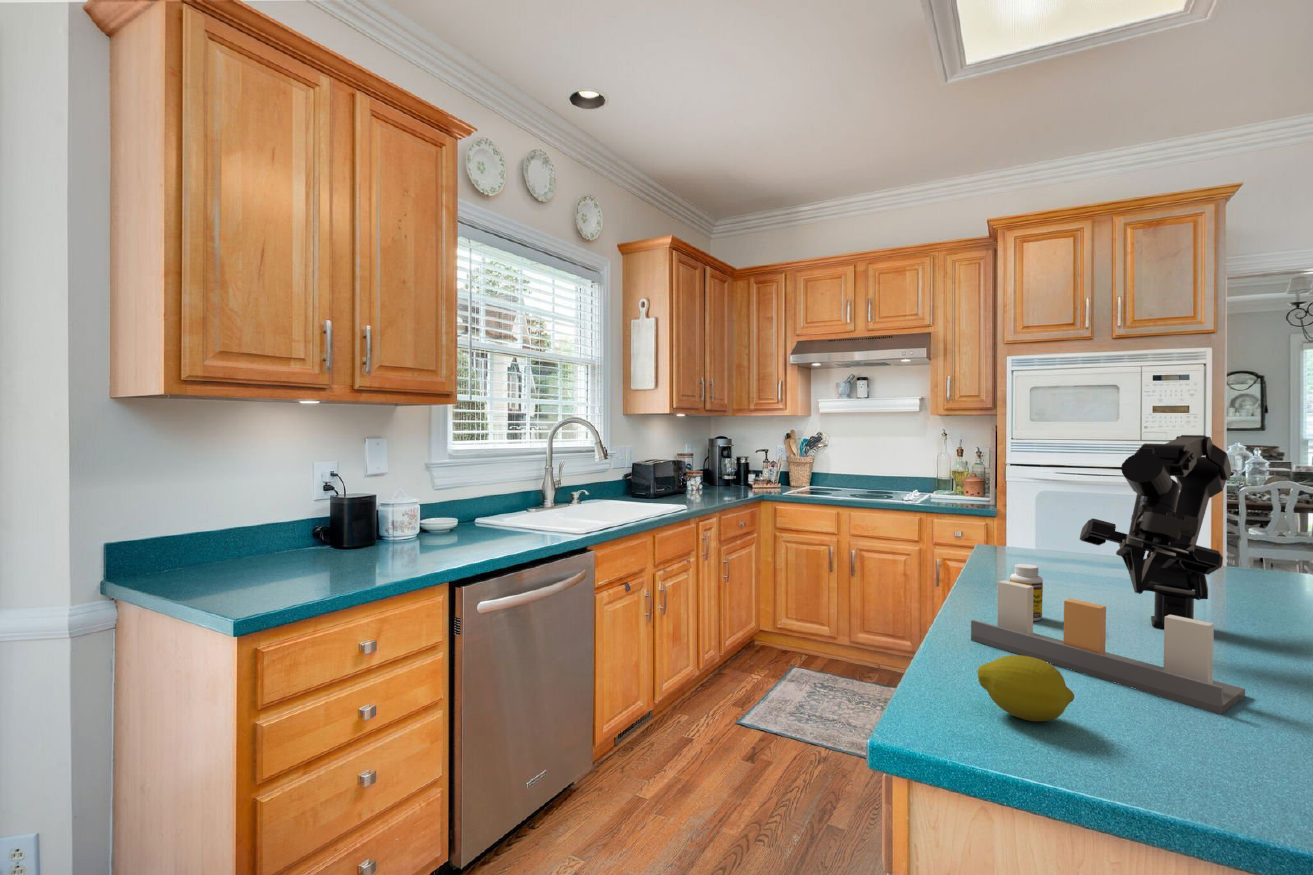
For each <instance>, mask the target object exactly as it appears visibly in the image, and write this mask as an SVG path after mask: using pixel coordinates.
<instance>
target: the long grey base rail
mask: <svg viewBox="0 0 1313 875" xmlns="http://www.w3.org/2000/svg"><path fill="white" fill-rule="evenodd" d="M970 624H971V625H970V640H971V641H973V642H975V643H979V644H982V645H987V646H990V647H993V648H995V649H999V650H1003V651H1006V652H1009V653H1013V654H1015V655H1022V656H1029V657H1034V658H1037V659H1041V660H1043V661H1045V662H1048V663H1051V665H1053V664H1056V665H1058V666H1057V667H1059V666H1061V667H1060V668H1063V667H1064V668H1063V669H1066V668H1069V669H1068V670H1070V669H1072V670H1071V671H1073V670H1075V671H1074V672H1076V671H1077V672H1078V673H1080V674H1083V673H1085V674H1084V675H1086V674H1087V676H1091V677H1093V678H1097V679H1101V680H1103V681H1107V682H1110V683H1113V682H1116V683H1115V684H1117V683H1119V684H1118V685H1120V684H1121V685H1120V686H1123V685H1124V687H1127V688H1130V687H1133V688H1136V689H1135V690H1137V689H1138V690H1137V691H1140V692H1144V691H1145V692H1144V693H1147V692H1149V693H1148V694H1150V693H1151V694H1150V695H1154V696H1157V697H1160V696H1161V697H1160V698H1164V699H1167V700H1171V701H1175V702H1178V703H1181V704H1184V705H1188V706H1191V707H1194V708H1198V709H1200V710H1201V709H1202V710H1205V711H1207V712H1212V713H1214V714H1218V715H1223V714H1224V713H1225V712H1226V711H1228V710H1229V709H1230V708H1232V707H1233V706H1234V705H1235V704H1236V703H1238V702H1239V701H1241V700H1242V699H1243V698H1244V697H1246V688H1245V687H1244V688H1243V687H1239V686H1236V685H1232V684H1229V683H1225V682H1220V681H1217V680H1213V684H1211V683H1207V682H1203V681H1199V680H1196V679H1192V678H1188V677H1184V676H1181V675H1177V674H1173V673H1170V672H1166V671H1164V666H1160V665H1156V664H1153V663H1150V662H1149V663H1148V662H1145V661H1141V660H1137V659H1133V658H1129V657H1127V656H1122V655H1119V654H1115V653H1110V652H1107V651H1105V655H1103V654H1099V653H1095V652H1091V651H1088V650H1084V649H1080V648H1076V647H1073V646H1069V645H1065V644H1064V640H1062V639H1058V638H1055V637H1052V636H1046V635H1043V634H1040V633H1035V632H1033V636H1032V635H1028V634H1024V633H1021V632H1017V631H1013V630H1009V629H1006V628H1002V627H998V625H994V624H991V623H987V622H984V621H979V620H975V619H972V620H971V621H970ZM1056 665H1055V666H1056ZM1133 688H1132V689H1133Z"/></svg>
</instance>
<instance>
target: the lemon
mask: <svg viewBox="0 0 1313 875" xmlns="http://www.w3.org/2000/svg"><path fill="white" fill-rule="evenodd" d="M977 678H978V682H979V685H980V686H981V687H982V688H983V689H984V690H986V692H987V693H988V696H989V697H990V699H991V701H992V702H993V703H995V705H997V706H998V707H999V708H1000V709H1001V710H1003V711H1005V712H1006V713H1008V714H1009V715H1011V716H1013V717H1016V718H1019V719H1022V720H1025V721H1030V722H1048V721H1052V720H1053V721H1054V720H1055V719H1057V718H1059V717H1060V716H1062V715H1063V714H1064V712H1065V710H1066V708H1067V707H1068V706H1069V705H1070V703H1071V702H1073V701H1074V699H1075V694H1074V693H1073V692H1074V691H1072V690H1071V689H1070V688H1068V687H1067V683H1066V681H1065V679H1064V676H1063V675H1062V674H1061V672H1060V671H1059V669H1057V668H1056V667H1055V665H1053V664H1049V663H1047V662H1045V661H1043V660H1041V659H1037V658H1034V657H1029V656H1022V655H1019V654H1014V655H1013V654H1012V655H1005V656H1001V657H999V658H996V659H994V660H992V661H990V662H986V663H984V664H982V665H980V666H978V668H977Z"/></svg>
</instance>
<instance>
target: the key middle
mask: <svg viewBox="0 0 1313 875" xmlns="http://www.w3.org/2000/svg"><path fill="white" fill-rule="evenodd" d="M1106 626H1107V606H1106V605H1102V604H1097V603H1092V602H1087V601H1083V600H1078V599H1074V598H1068V599H1065V600H1064V601H1063V641H1064V644H1065V645H1069V646H1073V647H1076V648H1080V649H1084V650H1088V651H1091V652H1095V653H1099V654H1103V655H1105V652H1106V640H1107V639H1106V638H1107V637H1106V635H1107V634H1106V633H1107V632H1106V631H1107V629H1106V628H1107V627H1106Z"/></svg>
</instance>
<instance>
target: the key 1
mask: <svg viewBox="0 0 1313 875" xmlns="http://www.w3.org/2000/svg"><path fill="white" fill-rule="evenodd" d="M1033 589H1034V586H1029V585H1025V584H1020V583H1015V582H1010V580H999V581H998V582H997V626H998V627H1002V628H1006V629H1009V630H1013V631H1017V632H1021V633H1024V634H1028V635H1032V636H1033V633H1034V621H1033Z"/></svg>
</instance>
